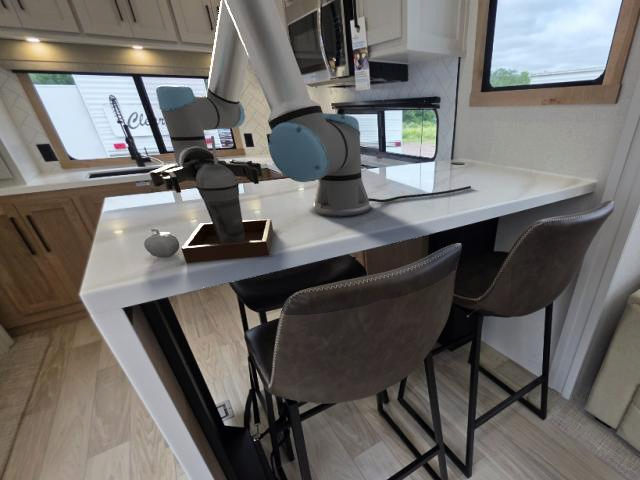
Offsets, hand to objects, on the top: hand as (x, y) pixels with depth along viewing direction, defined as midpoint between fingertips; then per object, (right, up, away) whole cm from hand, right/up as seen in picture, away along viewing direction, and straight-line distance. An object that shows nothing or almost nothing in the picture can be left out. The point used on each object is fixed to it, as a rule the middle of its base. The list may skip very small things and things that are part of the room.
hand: (218, 180), depth 62 cm
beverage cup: (-1, -11, +7) cm, 13 cm away
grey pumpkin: (-11, -14, +2) cm, 18 cm away
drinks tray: (0, -11, +7) cm, 13 cm away
